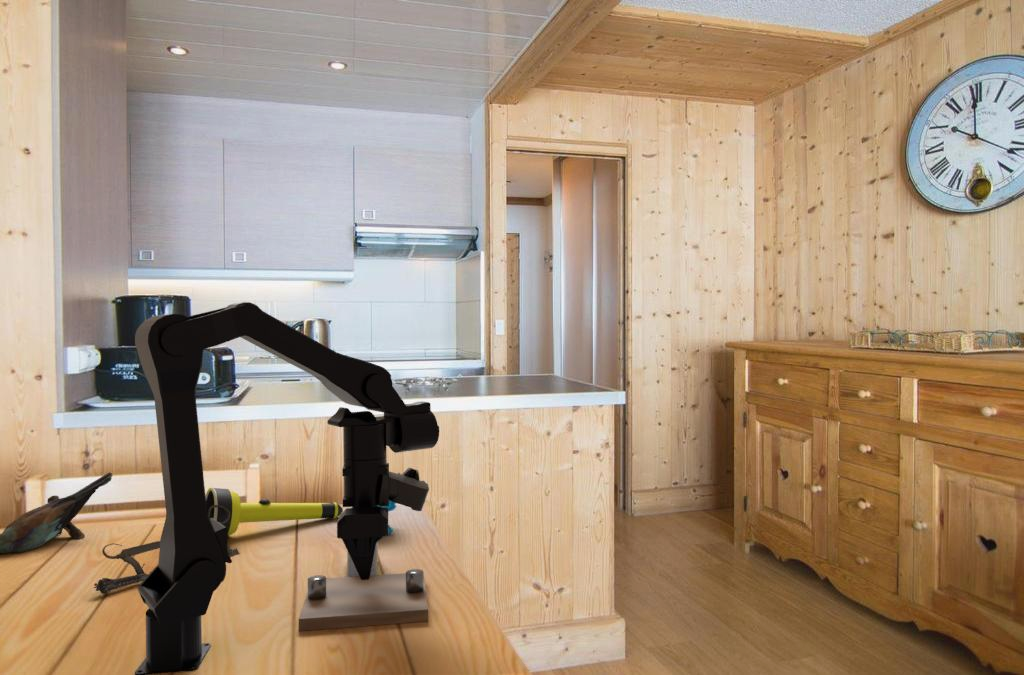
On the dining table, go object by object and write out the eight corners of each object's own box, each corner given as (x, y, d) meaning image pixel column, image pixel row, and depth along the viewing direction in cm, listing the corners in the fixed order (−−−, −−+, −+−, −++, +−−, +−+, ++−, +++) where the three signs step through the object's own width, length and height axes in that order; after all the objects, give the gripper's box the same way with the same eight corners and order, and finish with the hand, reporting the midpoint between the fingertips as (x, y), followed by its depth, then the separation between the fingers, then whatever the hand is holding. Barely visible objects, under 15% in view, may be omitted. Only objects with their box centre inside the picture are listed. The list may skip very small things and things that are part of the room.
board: (428, 621, 89) (428, 590, 89) (298, 631, 86) (298, 599, 86) (423, 582, 103) (423, 555, 103) (311, 589, 100) (311, 562, 100)
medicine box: (350, 562, 112) (349, 509, 112) (378, 561, 113) (377, 507, 113) (347, 580, 104) (346, 522, 104) (377, 578, 105) (377, 520, 105)
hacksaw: (98, 595, 97) (82, 527, 100) (90, 602, 98) (73, 535, 101) (250, 552, 117) (232, 496, 120) (241, 558, 118) (224, 503, 121)
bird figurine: (97, 463, 134) (-25, 475, 117) (125, 478, 129) (2, 493, 112) (85, 530, 135) (-37, 552, 117) (113, 548, 130) (-10, 574, 112)
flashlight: (332, 532, 140) (334, 486, 142) (350, 535, 133) (352, 487, 135) (199, 538, 125) (204, 487, 127) (212, 541, 118) (217, 488, 120)
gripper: (428, 467, 87) (429, 592, 87) (422, 443, 105) (423, 546, 105) (336, 471, 85) (337, 599, 85) (346, 446, 103) (347, 551, 103)
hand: (366, 571), depth 95 cm, fingers open, 6 cm apart
